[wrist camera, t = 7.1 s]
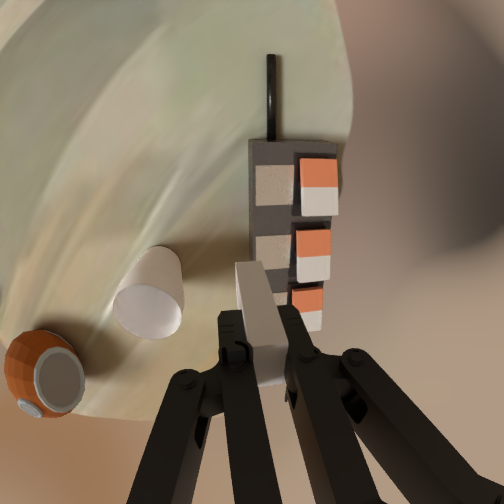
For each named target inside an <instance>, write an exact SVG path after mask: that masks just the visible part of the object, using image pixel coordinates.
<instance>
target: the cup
mask: <svg viewBox="0 0 504 504" xmlns="http://www.w3.org/2000/svg"><path fill="white" fill-rule="evenodd" d="M183 309H184V291H183V282H182V273H181V264H180V260H179V258H178V256H177V255H176V254H175V253H174V252H173V251H172V250H170V249H168V248H166V247H162V246H154V247H151V248H148V249H147V250H145V251H144V252H143V254H142V255H141V256H140V257H139V258H138V260H137V261H136V262H135V263H134V265H133V266H132V267H131V269H130V270H129V271H128V272H127V274H126V275H125V276H124V278H123V279H122V281H121V282H120V284H119V286H118V289H117V293H116V296H115V299H114V303H113V311H114V315H115V317H116V319H117V321H118V323H119V324H120V325H121V326H122V327H123V328H124V329H125V330H126V331H128V332H129V333H131V334H133V335H135V336H137V337H140V338H143V339H150V340H157V339H163V338H166V337H168V336H170V335H172V334H173V333H174V332H175V331H176V330H177V329H178V328H179V326H180V324H181V319H182V313H183Z"/></svg>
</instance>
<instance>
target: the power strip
mask: <svg viewBox="0 0 504 504" xmlns="http://www.w3.org/2000/svg"><path fill="white" fill-rule="evenodd" d="M336 157H337V144H334V143H331V142H327V141H314V140H276V55H275V54H267V139H266V140H248V160H249V246H250V261H262V264H263V267H264V270H265V273H266V276H267V279H268V282H269V285H270V288H271V291H272V294H273V297H274V300H275V303H276V306H278V305H287V304H292V289H299V288H309V287H318V286H321V287H322V288H323V283H324V281H315V282H305V283H299V282H298V281H297V239H296V230H309V229H330V228H331V218H332V216H302V211H301V177H300V159H302V158H309V159H336Z"/></svg>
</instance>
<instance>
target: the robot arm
mask: <svg viewBox="0 0 504 504" xmlns="http://www.w3.org/2000/svg"><path fill="white" fill-rule="evenodd" d="M235 271H236V294H237V305H238V310H229V311H221V313H220V314H219V316H218V335H219V351H218V354H219V361H218V363H217V364H216V366H214V367H213V368H212V369H210V370H207V371H204V372H201V373H199V372H198V371H196V370H193V369H184V370H180V371H178V372H177V373H175V374H174V375H173V376H172V378H171V380H170V383H169V385H168V388H167V390H166V393H165V396H164V398H163V401H162V404H161V406H160V409H159V412H158V414H157V417H156V420H155V423H154V426H153V428H152V431H151V434H150V436H149V439H148V442H147V445H146V448H145V451H144V454H143V456H142V459H141V462H140V465H139V468H138V471H137V473H136V476H135V479H134V482H133V485H132V488H131V491H130V494H129V497H128V500H127V503H126V504H191V503H192V498H193V494H194V490H195V485H196V482H197V477H198V473H199V469H200V464H201V460H202V456H203V451H204V447H205V443H206V438H207V435H208V430H209V426H210V421H211V417H212V416H214V415H217V414H220V413H223V412H224V416H225V426H226V436H227V445H228V454H229V463H230V471H231V479H232V486H233V494H234V501H235V504H282V500H281V495H280V491H279V486H278V482H277V477H276V472H275V468H274V463H273V458H272V453H271V449H270V444H269V439H268V434H267V429H266V425H265V419H264V415H263V410H262V404H261V399H260V394H259V389H258V387H260V386H267V385H276V384H283V383H284V377H285V381H286V384H287V386H286V393H285V402H287V400H288V402H289V405H290V409H291V413H292V417H293V420H294V424H295V428H296V432H297V435H298V439H299V443H300V447H301V450H302V454H303V458H304V461H305V465H306V469H307V473H308V476H309V480H310V484H311V487H312V491H313V495H314V499H315V502H316V504H387V503H385V502H383V501H382V500H381V499H380V497H379V494H378V492H377V489H376V486H375V484H374V481H373V478H372V476H371V473H370V471H369V468H368V466H367V463H366V460H365V458H364V455H363V453H362V450H361V447H360V445H359V442H358V440H357V437H356V435H355V432H356V434H357V435H358V436H359V438H360V439H361V440H362V442H363V443H364V444H365V446H366V447H367V448H368V450H369V451H370V452H371V454H372V455H373V456H374V458H375V459H376V460H377V462H378V463H379V464H380V466H381V467H382V468H383V470H384V471H385V472H386V473H387V475H388V476H389V477H390V479H391V480H392V481H393V482H394V484H395V485H396V486H397V488H398V489H399V490H400V491H401V493H402V494H403V495H404V497H405V498H406V499H407V500H408V501H409V503H410V504H504V486H502V485H500V484H498V483H495V482H493V481H491V480H489V479H486V478H484V477H482V476H480V475H478V474H477V473H476V472H475V471H474V469H473V468H472V467H471V466H470V465H469V464H468V463H467V461H466V460H465V459H464V458H463V457H462V456H461V455H460V454H459V453H458V451H457V450H456V449H455V448H454V447H453V446H452V445H451V443H449V441H448V440H447V439H446V438H445V437H444V436H443V435H442V434H441V433H440V431H439V430H438V429H437V428H436V427H435V426H434V425H433V423H432V422H431V421H430V420H429V419H428V418H427V417H426V416H425V415H424V414H423V413H422V411H421V410H420V409H419V408H418V407H417V406H416V405H415V404H414V403H413V402H412V400H410V398H409V397H408V396H407V395H406V394H405V393H404V392H403V391H402V390H401V388H400V387H399V386H398V385H397V384H396V383H395V382H394V381H393V380H392V379H391V378H390V377H389V376H388V374H387V373H386V372H385V371H384V370H383V369H382V368H381V367H380V366H379V365H378V364H377V363H376V362H375V360H373V358H372V357H371V356H370V355H369V354H368V353H367V352H365V351H364V350H361V349H358V348H352V349H348V350H346V351H345V352H343V354H342V356H337V355H327V354H324V353H321V351H320V350H319V349H318V348H316V347H315V346H314V345H313V343H312V341H311V338H310V336H309V334H308V331H307V329H306V326H305V324H304V322H303V319H302V317H301V314H300V312H299V310H298V309H297V308H296V307H295V306H294V305H293V304H287V305H278V306H276V303H275V300H274V297H273V294H272V291H271V288H270V285H269V282H268V279H267V276H266V273H265V270H264V267H263V264H262V261H247V262H235ZM354 431H355V432H354Z"/></svg>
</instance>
